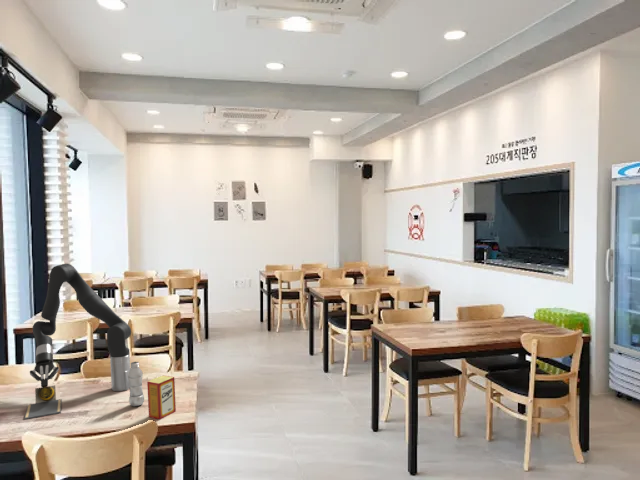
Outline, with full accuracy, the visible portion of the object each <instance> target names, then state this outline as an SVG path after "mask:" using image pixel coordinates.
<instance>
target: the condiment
mask: <svg viewBox="0 0 640 480" xmlns="http://www.w3.org/2000/svg"><path fill="white" fill-rule="evenodd" d="M34 391H35V392H34V393H35V394H34V395H35V403H41V402H46V401H52V400H57V397H56V396H57V395H56V391H57V390H56V385H48V386H46V387H41V386H40V387H37V388H35V389H34Z"/></svg>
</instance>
